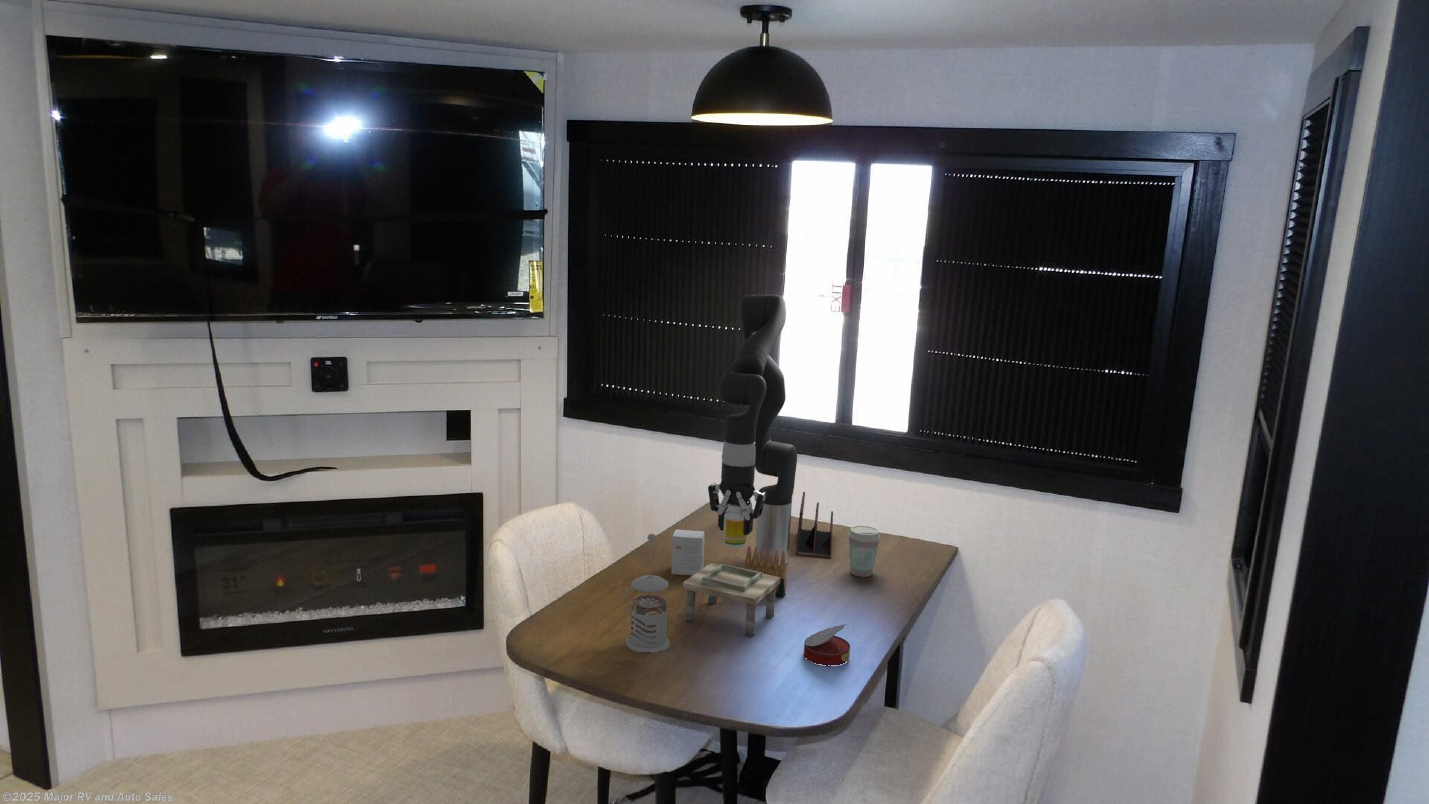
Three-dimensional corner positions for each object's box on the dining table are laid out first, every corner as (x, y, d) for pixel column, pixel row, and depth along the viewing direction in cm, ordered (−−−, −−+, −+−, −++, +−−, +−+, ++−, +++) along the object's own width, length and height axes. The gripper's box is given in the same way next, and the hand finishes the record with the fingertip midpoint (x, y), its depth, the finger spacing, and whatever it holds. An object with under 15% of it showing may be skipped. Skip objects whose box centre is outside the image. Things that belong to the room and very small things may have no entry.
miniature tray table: (709, 599, 236) (711, 557, 233) (777, 615, 228) (780, 572, 226) (681, 621, 222) (683, 577, 220) (752, 639, 215) (755, 594, 213)
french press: (653, 657, 204) (657, 545, 199) (609, 642, 210) (612, 533, 205) (679, 641, 212) (683, 533, 207) (636, 627, 218) (640, 521, 213)
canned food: (823, 688, 204) (809, 654, 200) (801, 662, 213) (787, 629, 208) (867, 659, 207) (854, 625, 202) (843, 635, 215) (830, 602, 211)
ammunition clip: (785, 595, 240) (788, 550, 238) (783, 598, 238) (786, 552, 236) (744, 588, 243) (746, 543, 241) (742, 591, 241) (744, 546, 239)
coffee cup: (841, 575, 255) (844, 532, 253) (849, 565, 263) (852, 523, 261) (873, 581, 252) (877, 537, 250) (880, 570, 260) (884, 528, 258)
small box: (703, 568, 255) (705, 531, 253) (701, 576, 250) (703, 538, 248) (673, 566, 256) (675, 528, 254) (670, 574, 251) (672, 535, 248)
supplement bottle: (718, 541, 223) (720, 501, 221) (739, 539, 225) (741, 499, 223) (729, 549, 218) (731, 508, 216) (749, 546, 220) (752, 506, 219)
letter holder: (795, 555, 269) (798, 507, 266) (798, 533, 288) (801, 487, 285) (831, 559, 267) (834, 510, 265) (832, 536, 287) (835, 490, 284)
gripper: (774, 461, 218) (770, 533, 221) (717, 452, 224) (713, 522, 227) (761, 469, 211) (757, 542, 215) (702, 459, 217) (699, 530, 221)
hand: (734, 531), depth 221 cm, fingers closed on supplement bottle, 5 cm apart
